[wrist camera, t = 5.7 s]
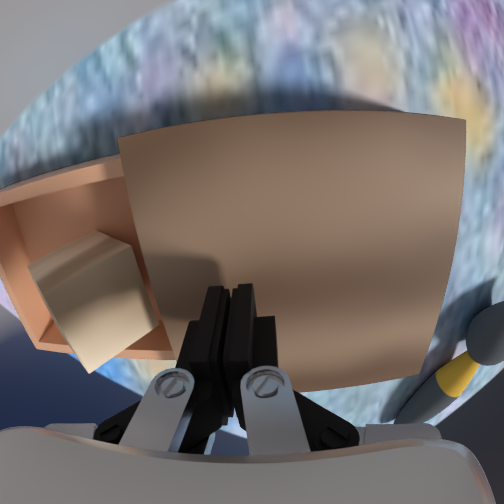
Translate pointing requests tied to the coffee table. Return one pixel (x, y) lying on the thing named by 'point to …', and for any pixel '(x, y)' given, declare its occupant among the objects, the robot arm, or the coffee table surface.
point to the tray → (63, 232)
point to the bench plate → (306, 230)
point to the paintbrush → (459, 367)
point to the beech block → (95, 296)
